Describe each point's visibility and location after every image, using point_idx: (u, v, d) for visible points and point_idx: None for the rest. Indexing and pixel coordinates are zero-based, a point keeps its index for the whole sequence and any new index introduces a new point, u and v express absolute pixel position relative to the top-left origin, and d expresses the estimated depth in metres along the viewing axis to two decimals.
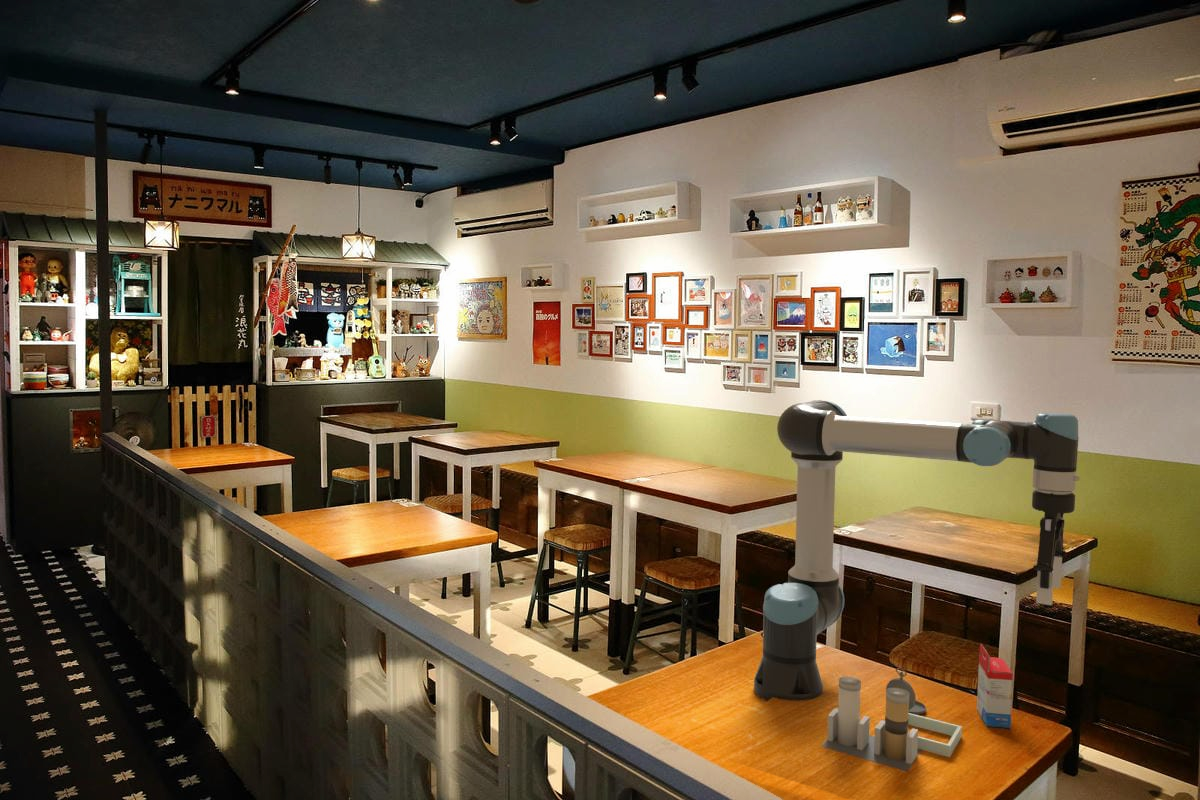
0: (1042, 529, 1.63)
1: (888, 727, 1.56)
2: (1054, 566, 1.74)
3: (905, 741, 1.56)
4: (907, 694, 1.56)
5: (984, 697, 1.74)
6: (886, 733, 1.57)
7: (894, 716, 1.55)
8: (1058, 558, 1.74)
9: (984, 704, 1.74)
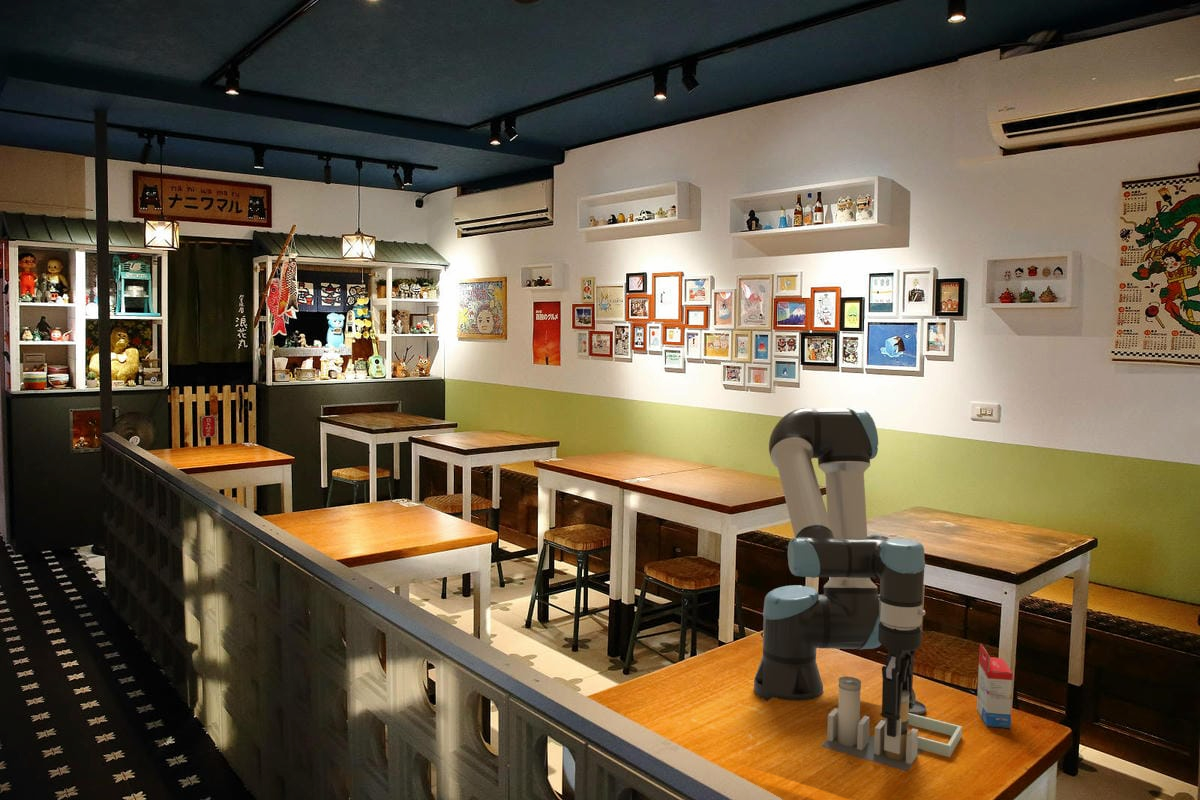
0: (884, 677, 1.52)
1: None
2: None
3: (905, 741, 1.56)
4: (907, 694, 1.56)
5: (984, 697, 1.74)
6: None
7: None
8: None
9: (984, 704, 1.74)
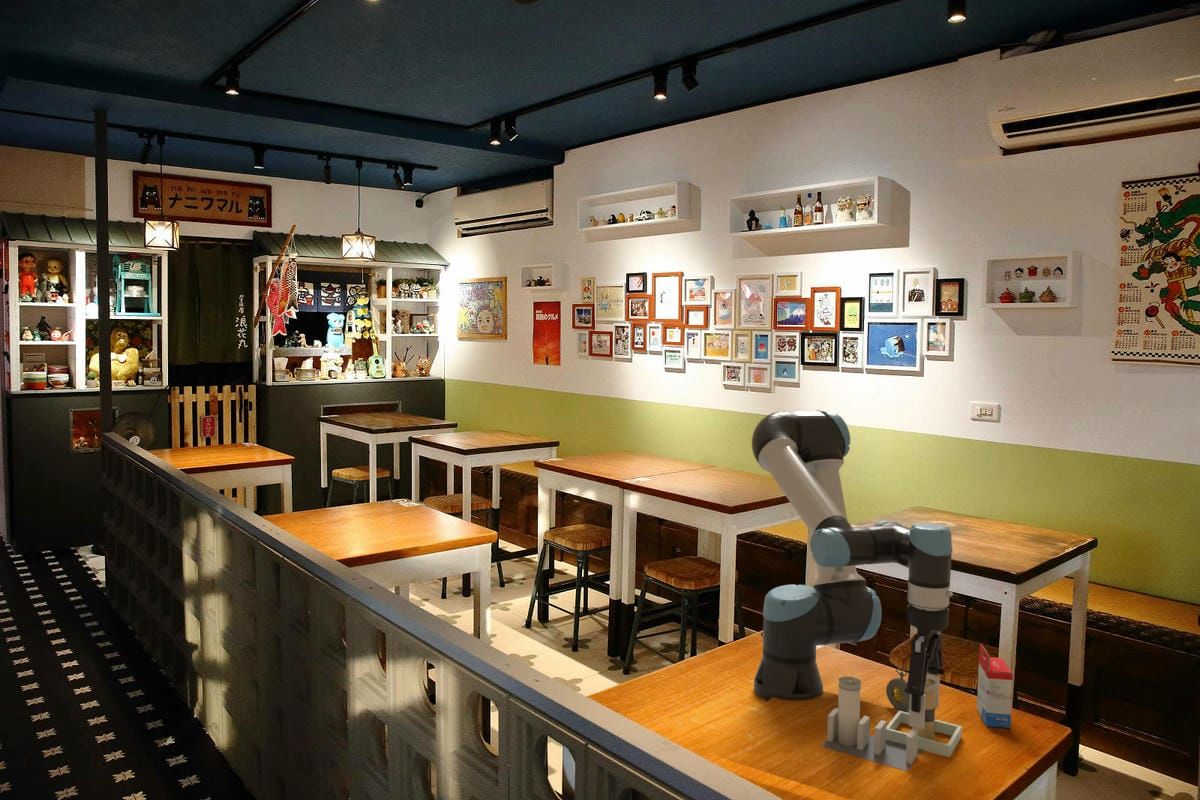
0: (912, 651, 1.58)
1: None
2: None
3: (932, 728, 1.63)
4: (933, 683, 1.63)
5: (984, 697, 1.74)
6: None
7: None
8: (935, 677, 1.67)
9: (984, 704, 1.74)
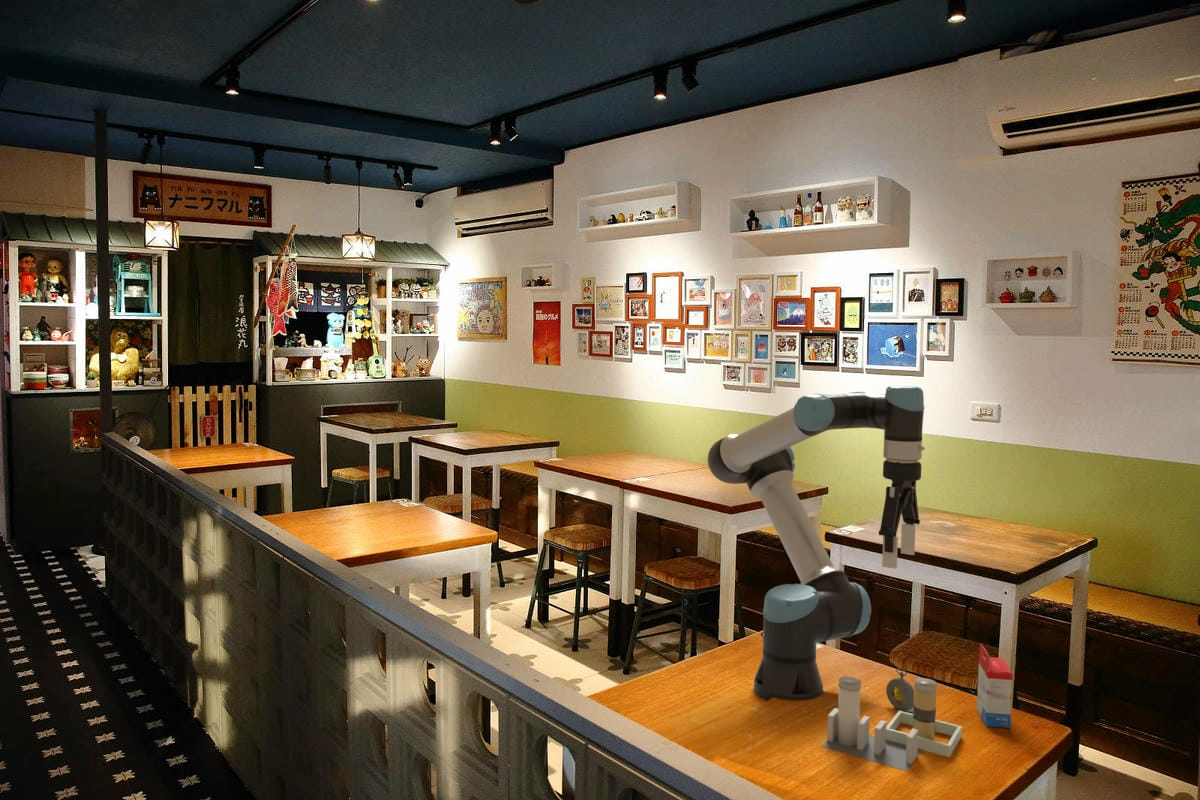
0: (887, 496, 1.71)
1: (916, 715, 1.63)
2: (908, 533, 1.82)
3: (933, 729, 1.62)
4: (935, 684, 1.63)
5: (984, 697, 1.74)
6: (914, 721, 1.64)
7: (922, 705, 1.62)
8: (911, 526, 1.81)
9: (984, 704, 1.74)
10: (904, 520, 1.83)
